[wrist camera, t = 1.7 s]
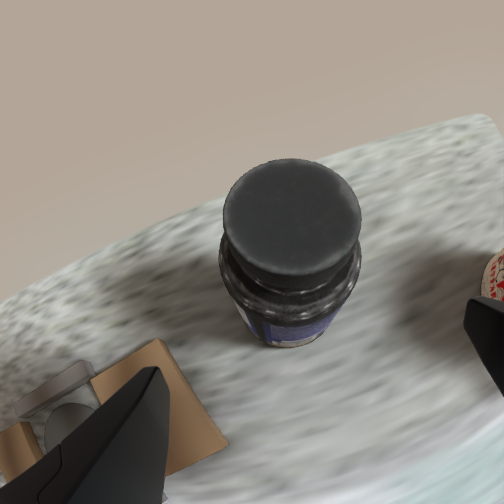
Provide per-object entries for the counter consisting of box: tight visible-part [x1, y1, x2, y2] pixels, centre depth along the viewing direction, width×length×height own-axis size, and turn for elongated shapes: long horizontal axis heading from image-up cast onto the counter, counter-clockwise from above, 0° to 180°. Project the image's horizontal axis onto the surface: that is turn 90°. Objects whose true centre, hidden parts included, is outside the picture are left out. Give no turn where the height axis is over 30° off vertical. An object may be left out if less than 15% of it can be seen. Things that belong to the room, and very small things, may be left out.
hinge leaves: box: [0, 338, 229, 503], centre depth 15 cm, size 21×11×1 cm, turn 124°
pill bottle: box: [219, 159, 362, 348], centre depth 15 cm, size 6×6×11 cm
